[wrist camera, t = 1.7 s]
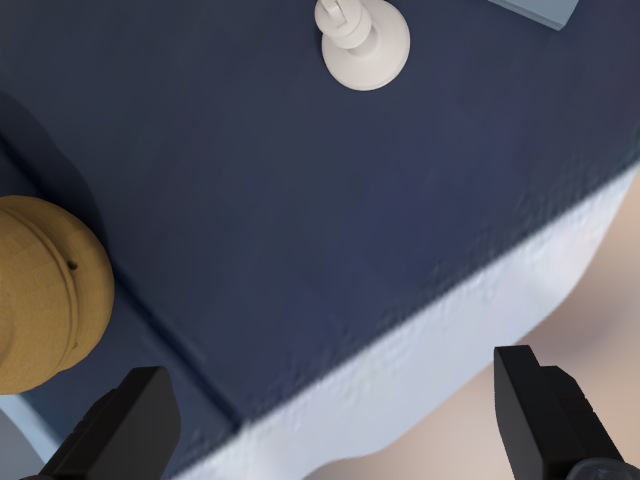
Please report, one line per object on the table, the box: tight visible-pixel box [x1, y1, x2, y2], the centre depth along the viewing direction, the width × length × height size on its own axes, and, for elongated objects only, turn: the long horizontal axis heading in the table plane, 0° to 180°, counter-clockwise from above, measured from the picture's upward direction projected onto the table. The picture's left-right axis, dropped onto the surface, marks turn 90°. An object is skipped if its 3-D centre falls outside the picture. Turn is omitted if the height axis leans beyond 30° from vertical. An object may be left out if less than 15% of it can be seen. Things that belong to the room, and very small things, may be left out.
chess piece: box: [315, 0, 410, 90], centre depth 24 cm, size 5×5×10 cm
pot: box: [0, 195, 114, 395], centre depth 32 cm, size 12×12×10 cm
